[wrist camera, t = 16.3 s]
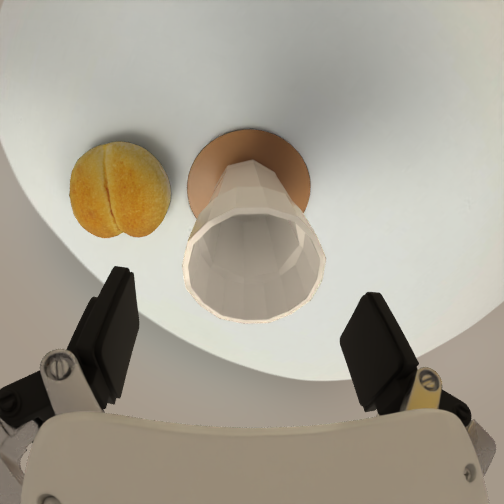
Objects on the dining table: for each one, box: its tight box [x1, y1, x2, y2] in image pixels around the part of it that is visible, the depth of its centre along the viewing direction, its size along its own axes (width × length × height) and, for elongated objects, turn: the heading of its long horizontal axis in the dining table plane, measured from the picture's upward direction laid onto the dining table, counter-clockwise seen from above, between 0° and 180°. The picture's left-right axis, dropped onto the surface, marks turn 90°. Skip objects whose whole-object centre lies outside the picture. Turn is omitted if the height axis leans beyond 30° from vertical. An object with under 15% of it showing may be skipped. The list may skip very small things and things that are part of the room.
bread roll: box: [69, 141, 171, 238], centre depth 20 cm, size 8×9×4 cm
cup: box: [182, 160, 326, 324], centre depth 17 cm, size 7×7×11 cm
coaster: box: [187, 129, 310, 219], centre depth 22 cm, size 10×10×1 cm
